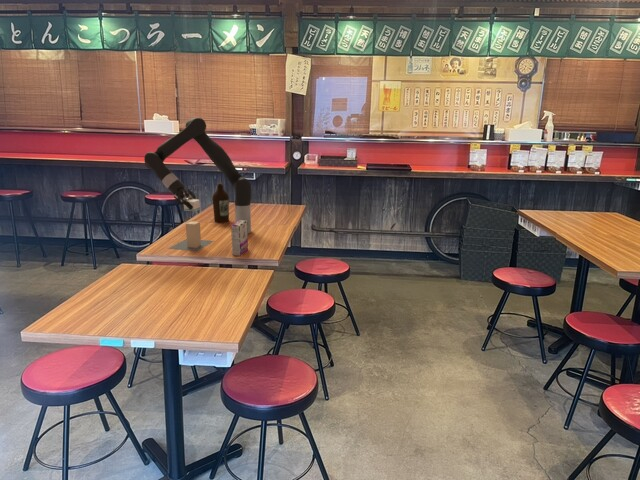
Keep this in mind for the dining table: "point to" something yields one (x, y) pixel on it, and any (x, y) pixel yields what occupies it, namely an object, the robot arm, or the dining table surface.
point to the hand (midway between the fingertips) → (194, 207)
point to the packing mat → (183, 246)
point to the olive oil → (221, 205)
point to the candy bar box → (239, 237)
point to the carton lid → (195, 205)
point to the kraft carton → (193, 234)
